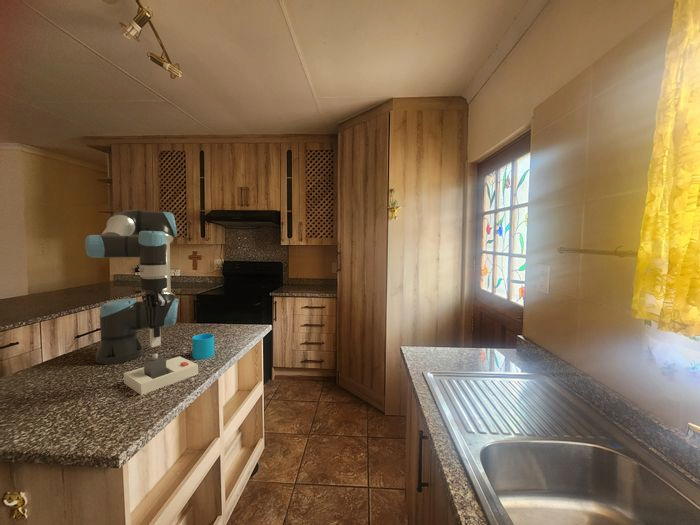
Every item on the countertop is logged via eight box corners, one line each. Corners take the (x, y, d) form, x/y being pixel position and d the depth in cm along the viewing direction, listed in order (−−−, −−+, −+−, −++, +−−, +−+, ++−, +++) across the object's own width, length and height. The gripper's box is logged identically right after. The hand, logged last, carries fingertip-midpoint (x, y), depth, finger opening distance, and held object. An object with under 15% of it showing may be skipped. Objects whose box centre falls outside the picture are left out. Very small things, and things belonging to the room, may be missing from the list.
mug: (210, 359, 119) (210, 339, 118) (189, 359, 118) (189, 340, 117) (219, 348, 131) (219, 330, 130) (200, 348, 130) (199, 330, 129)
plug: (159, 375, 103) (159, 350, 102) (166, 379, 100) (165, 353, 100) (144, 380, 99) (143, 354, 98) (151, 384, 96) (150, 358, 96)
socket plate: (124, 383, 98) (123, 371, 97) (179, 365, 113) (179, 354, 112) (141, 395, 91) (141, 382, 90) (198, 374, 106) (198, 362, 105)
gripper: (132, 276, 98) (134, 344, 100) (150, 280, 91) (152, 353, 93) (156, 274, 104) (158, 338, 106) (175, 278, 97) (176, 346, 99)
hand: (155, 345), depth 99 cm, fingers closed
